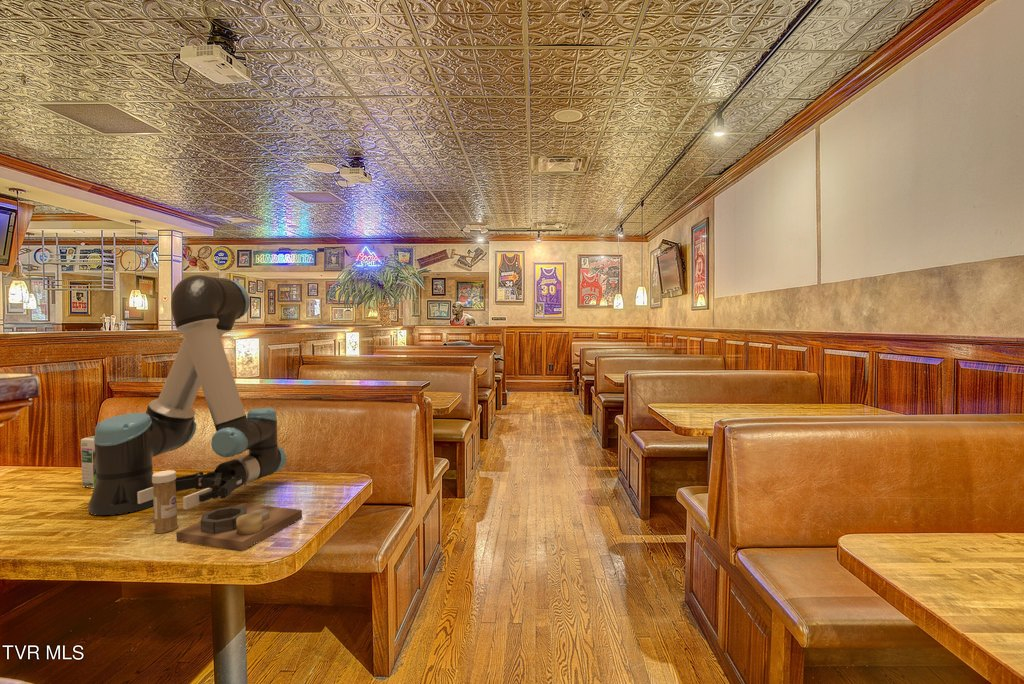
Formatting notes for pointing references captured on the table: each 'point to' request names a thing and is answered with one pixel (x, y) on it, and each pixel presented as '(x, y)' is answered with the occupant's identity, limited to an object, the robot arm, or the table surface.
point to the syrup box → (88, 462)
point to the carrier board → (238, 540)
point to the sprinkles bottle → (164, 501)
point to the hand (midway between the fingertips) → (161, 500)
